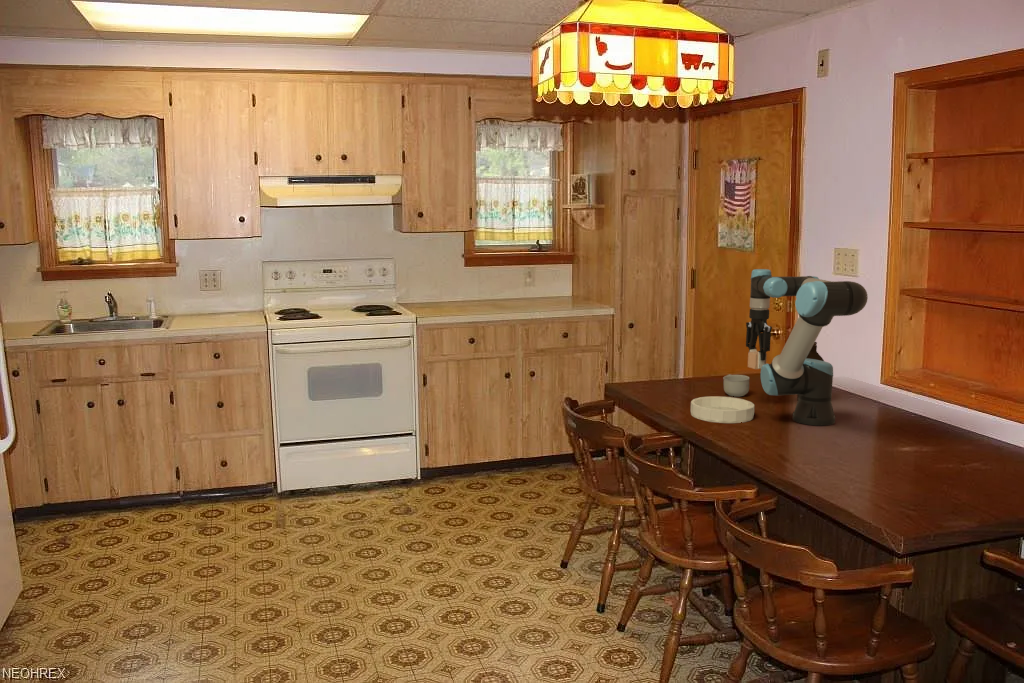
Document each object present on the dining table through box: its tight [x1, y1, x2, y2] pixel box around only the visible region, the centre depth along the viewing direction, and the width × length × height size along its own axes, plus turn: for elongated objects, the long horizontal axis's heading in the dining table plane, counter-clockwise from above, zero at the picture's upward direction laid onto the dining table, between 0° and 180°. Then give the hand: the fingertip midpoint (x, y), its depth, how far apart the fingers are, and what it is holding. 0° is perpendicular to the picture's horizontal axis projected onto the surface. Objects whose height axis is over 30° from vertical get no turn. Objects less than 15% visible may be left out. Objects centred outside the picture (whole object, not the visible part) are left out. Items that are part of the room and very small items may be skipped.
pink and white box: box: [747, 350, 768, 370], centre depth 346 cm, size 5×5×6 cm
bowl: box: [690, 395, 755, 424], centre depth 336 cm, size 23×23×5 cm
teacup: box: [722, 374, 751, 398], centre depth 372 cm, size 14×11×8 cm
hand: (756, 366), depth 346 cm, fingers closed on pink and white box, 5 cm apart
